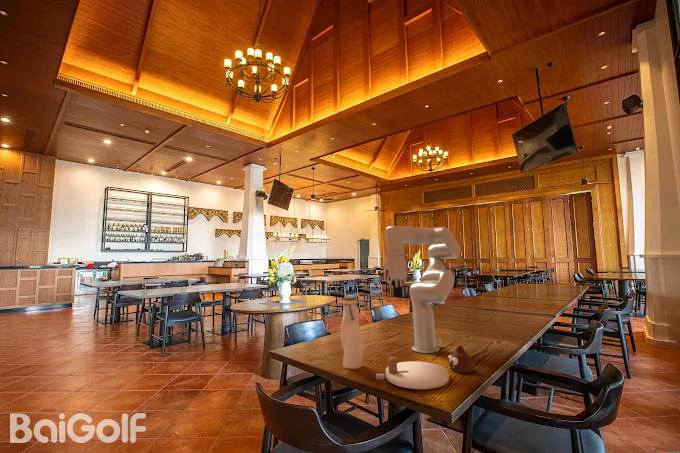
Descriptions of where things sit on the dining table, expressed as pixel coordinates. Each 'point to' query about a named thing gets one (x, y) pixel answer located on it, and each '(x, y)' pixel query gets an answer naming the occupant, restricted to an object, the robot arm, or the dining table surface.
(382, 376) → the pointer
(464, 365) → the poop emoji
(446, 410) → the dining table surface
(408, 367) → the turntable
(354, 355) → the water bottle
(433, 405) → the dining table surface
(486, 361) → the dining table surface
